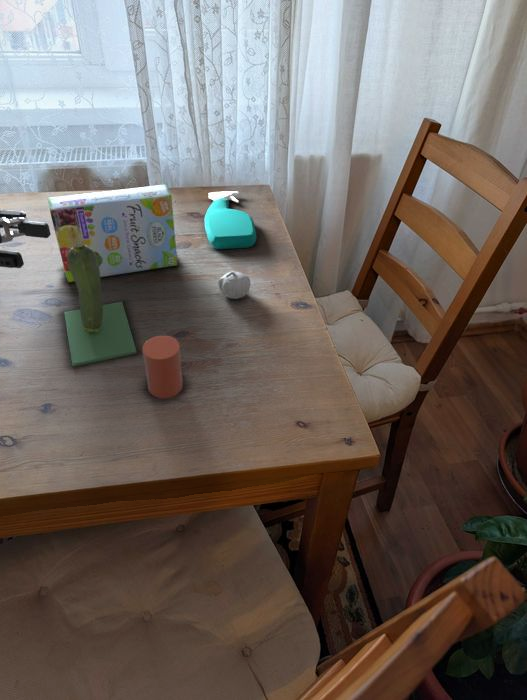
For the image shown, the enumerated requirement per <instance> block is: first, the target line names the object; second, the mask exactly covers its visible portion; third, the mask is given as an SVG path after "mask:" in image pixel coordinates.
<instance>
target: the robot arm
mask: <svg viewBox="0 0 527 700" xmlns="http://www.w3.org/2000/svg"><path fill="white" fill-rule="evenodd" d="M27 216H28V215H27V213H26V211H21V210H6V209H0V229H3V232H4V234H3V235H2V234H1V232H0V244H5V243H9V242H12V241H13V239H14V238H19V237H23V236H25V237H30V238H40V239H49V237H50V236H51V234H52V233H51V230H50V226H49V224H48V223H47V222H41V221H33V220H32V221H31V220H28V217H27ZM11 229H12V230H11ZM22 256H23V255H22V253H21V252H19V251H14V250H13V251H12V250H3V249H0V268H8V269H14V268H15V269H21V268H22V267H23V266H24V265H25V263H24V259H23V257H22Z"/></svg>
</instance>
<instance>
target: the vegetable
mask: <svg viewBox="0 0 527 700" xmlns="http://www.w3.org/2000/svg"><path fill="white" fill-rule="evenodd" d="M68 234H69V237H70V241H71V244H72V246H73V247H72V248H71V249H70V250H69V252H68V256H67V263H68V267H69V270H70V272H71V274H72V276H73V278H74V281H73V282H74V283H75V285H76V289H77V293H78V298H79V309H80V312H81V319H82V324H83V326H84V330H85V332H86V331H87V332H88V333H89V332H96V333H97V332H98V330H99V327H100V326H101V324H102V316H103V305H104V304H103V294H102V284H101V280H102V279H101V277H100V269H99V264H98V260H97V257H96V255H95V253H94V251H93V250H92V249H91V248H90V247H88V246H86V245H84V240H83V238H82V236H81V234H80V233H79V232H78V231H77V230H76V229H75V228H73V226H72V227H69V230H68Z"/></svg>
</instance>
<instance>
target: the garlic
mask: <svg viewBox="0 0 527 700" xmlns="http://www.w3.org/2000/svg"><path fill="white" fill-rule="evenodd" d="M217 285H218V289H219V291H220V293H222V294H223V295H224V297H227V298H229V299H233V300H238V299H243V298H244V297H245V296H247V295H248V293H249V291H250V288H251V285H252V284H251V279H250V277H249V276H248V275H246V274H245V273H243V272H241V271H237V270H232V271H229V272H227V273H224V275H223V276H221V277H220V278H219V279H218V282H217Z"/></svg>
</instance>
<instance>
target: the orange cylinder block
mask: <svg viewBox="0 0 527 700" xmlns="http://www.w3.org/2000/svg"><path fill="white" fill-rule="evenodd" d="M141 348H142V355H143V356H142V357H143V362H144V369H145V376H146V384H147V389H148V390H147V391H148V392H149V394H150V395H152V396H153V397H155V398H158V399H170V398H173V397H175V396H177V395H179V393H180V392H181V391H182V390H183V388H184V387H183V384H184V383H183V370H182V360H181V350H180V343H179V341H178V340H177V339H176V338H175V337H172V336H170V335H163V334H162V335H155V336H153V337H150V338H148V339H147V340H146V341H145V342H144V343H143V345H142V347H141Z"/></svg>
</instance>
